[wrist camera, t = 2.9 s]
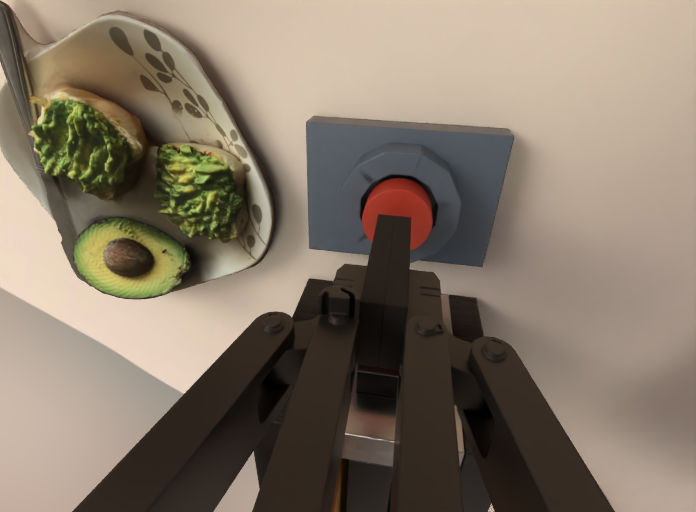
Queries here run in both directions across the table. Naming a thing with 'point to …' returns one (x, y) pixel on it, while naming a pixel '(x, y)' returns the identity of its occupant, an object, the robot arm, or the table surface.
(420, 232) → the stop button
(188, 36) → the table surface
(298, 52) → the table surface
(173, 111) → the salad plate
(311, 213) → the button block
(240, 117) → the table surface
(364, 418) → the toaster
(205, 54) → the table surface
